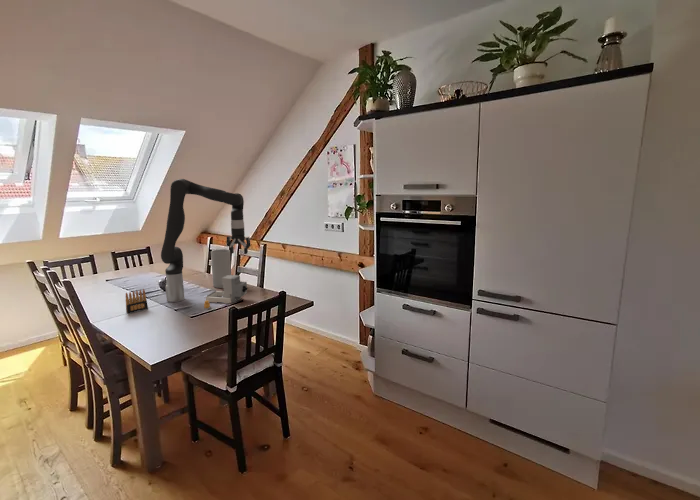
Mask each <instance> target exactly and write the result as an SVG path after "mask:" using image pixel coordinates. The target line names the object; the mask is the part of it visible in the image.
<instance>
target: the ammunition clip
mask: <svg viewBox="0 0 700 500" xmlns="http://www.w3.org/2000/svg"><path fill="white" fill-rule="evenodd" d="M125 308H126V309H125V312H126V314H129V315H130V314H132V313H137V312H140V311H141V312H142V311H144V310H148V309H149V305H148V300H147V295H146V290H145V289H144V288H143V290H141V289H139V292H138V290H136V291H134V290H133V291H132V292H131V291H129V293H128V292H126V293H125Z"/></svg>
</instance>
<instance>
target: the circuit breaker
mask: <svg viewBox="0 0 700 500" xmlns="http://www.w3.org/2000/svg"><path fill="white" fill-rule="evenodd" d="M222 285H223V288H222V290H223V292H224V294H222V295H223V297H222V298H231V303H237V302H238V301H240V300H241V299H242V297H243V296H245V295H246V294H248V289H249V288H248V285H247V281H241V275H236V274H235V275H234V274H231V275H227V276H225V277H223V278H222Z"/></svg>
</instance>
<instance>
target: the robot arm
mask: <svg viewBox="0 0 700 500" xmlns="http://www.w3.org/2000/svg"><path fill="white" fill-rule="evenodd" d="M169 190H170V193H169V195H170V196H169V197H170V198H169V208H168V213H167V220H166V226H165V227H166V228H165V235H164V240H163V245H162V248H161V250H160V251H161V252H160V259H161V261H162V263H164V264H168V267H166V268H165V271H164V272H165V279H166V285H165V288H164V289H165V296H166V301H167V302H169V303H177V302H182V301H184V300H185V288H184V287H185V286H184V277H183V268H184V255H183V250H182V249H181V248H180V247H178V246H176V244H177V241H178V239H179V237H180V235H181V234H182V232H183V230H184V228H185V222H186V217H185V216H186V215H185V210H184V203H185V197H186V195H195V196H200V197H202V198H205V199H208V200H211V201H214V202H219V203H222V204H223V203H224V204H227V205H231V211H230V228H231V229H230V230H231V231H230V232H231V233H230V234H231V236H230V235H228V236H226V247H228V248H229V250H230V255H232V254H234V252H235V249H234V246H235V245H237V244H238V245H241V246H243V255H247V254H248V248H251V238H250V236H245V221H244V203H245V201H244V196H243V195H242V194H240V193H238V192H236V193H233V192H228V191H226V190H223V189H218V188H214V187H209V186H204V185H201V184H198V183H195V182H192V181H191V180H188V179H184V178H179V179H175V180H173V181H172V183H171V184H170V189H169ZM231 240H232V242H231Z"/></svg>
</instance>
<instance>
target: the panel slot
mask: <svg viewBox="0 0 700 500" xmlns="http://www.w3.org/2000/svg"><path fill="white" fill-rule="evenodd" d="M222 294H224V291H221V290H219V291H217V290H213V291H212V292H210V293H208V294H207V295H206V296H205V301H207V300H208V301H209V303H217V302H224V303H223V304H232V302H231V298H223V297H222V296H223V295H222Z"/></svg>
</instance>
